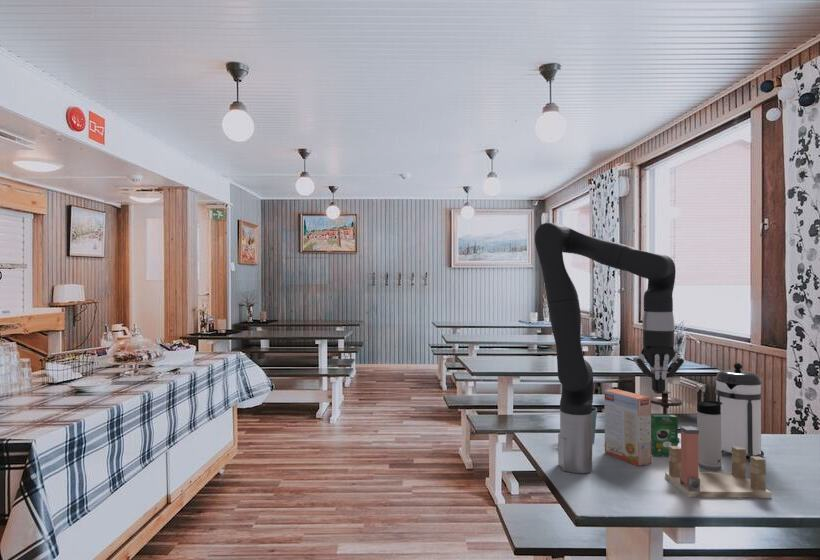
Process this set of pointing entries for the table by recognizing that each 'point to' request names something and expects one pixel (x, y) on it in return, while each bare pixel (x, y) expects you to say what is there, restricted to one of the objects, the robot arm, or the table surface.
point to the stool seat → (722, 477)
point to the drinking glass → (593, 422)
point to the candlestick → (666, 400)
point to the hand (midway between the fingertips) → (658, 392)
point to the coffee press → (740, 410)
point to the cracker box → (628, 426)
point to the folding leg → (689, 453)
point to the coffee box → (663, 434)
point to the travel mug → (709, 434)
